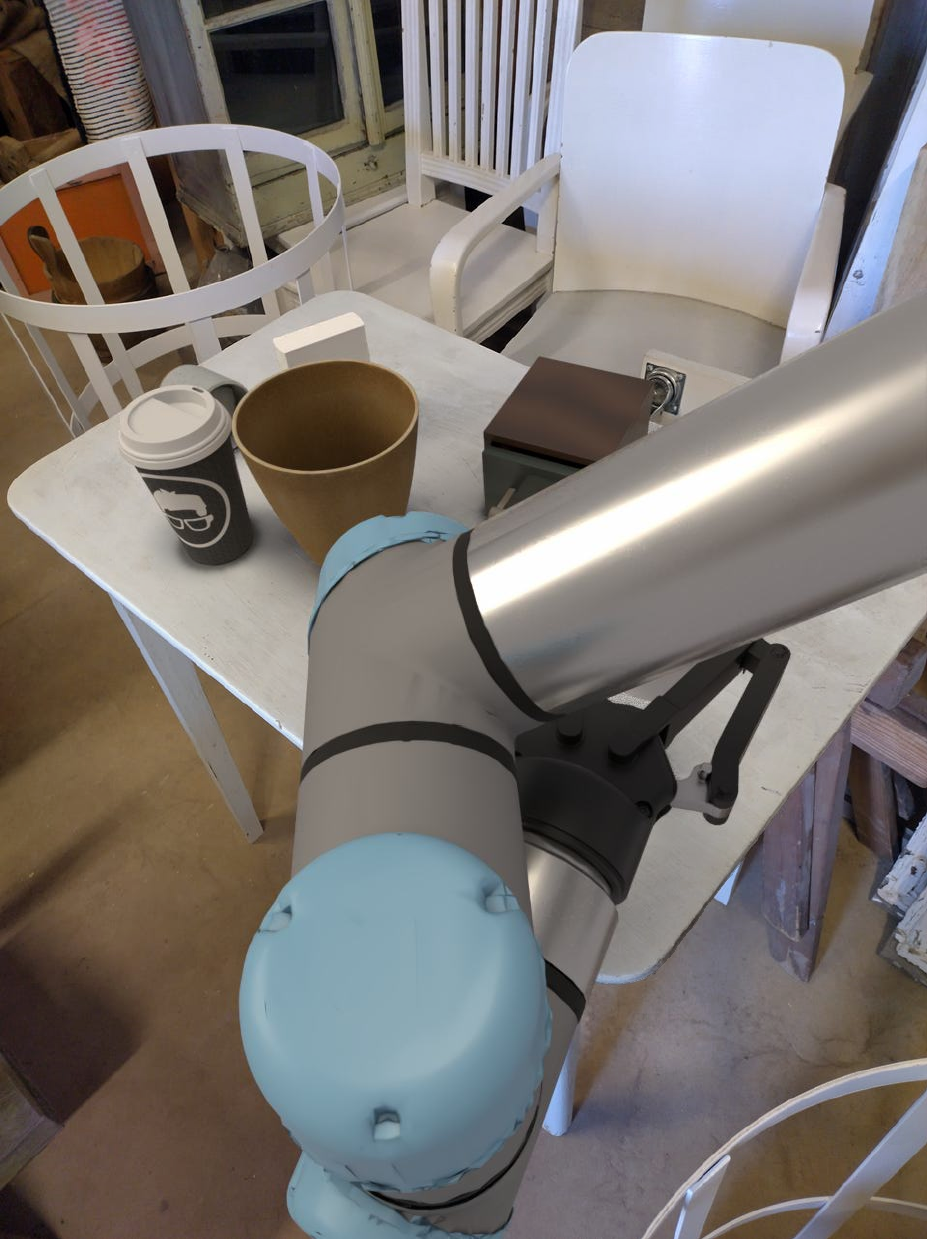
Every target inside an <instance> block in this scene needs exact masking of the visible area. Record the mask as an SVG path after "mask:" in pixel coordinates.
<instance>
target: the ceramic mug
mask: <svg viewBox="0 0 927 1239" xmlns="http://www.w3.org/2000/svg"><path fill="white" fill-rule="evenodd" d="M171 385H192V386H197V387H200V388H202V389H204V390H206V391H208V392H209V393H210V394H211V395H212V396H213V398H215V399H217V400H218V401H219V402H220V403H221V404H222V405H223V406H224V407H225V409H226V410H227V411H228V413H229V414H230V416H231V419H233V415H234V412H235V409H236V407H237V406H238V404H239V402H240V401H241V399H242V398H243V397H244V396H245V395H246V394H247V393H248V392H249V391H250V390H249V389H248V388H247V387H245V385H243V384H242V383H240V382H239V381H237V380H235V379H232V378H229V377H228V376H225V375H223V374H221V373H218V372H217V371H213V370H211V369H209V368H206V367H204V366H202V365H195V364H182V365H179V366H176V367H174V368H172V369H171V370H170V371H168V373H166V374H165V375H164V377H163V379H162V380H161V382H160V384H159V387H158V388H161V387H165V386H171ZM230 438H231V443H232V447H233V450H234V449H237V448H238V446H237V444H236V441H235V439H234V436H233V433H232V428H231V432H230Z"/></svg>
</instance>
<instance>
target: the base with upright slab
mask: <svg viewBox="0 0 927 1239" xmlns="http://www.w3.org/2000/svg"><path fill="white" fill-rule="evenodd" d="M367 339H368V338H367V334H366V327H365V322H364V321H363V319H362V317H361V316H359V315H358V314H356V313H355V312H352V311H349V312H346V313H343V314H341V315H338V316H335V317H332V318H329V319H327V320H324V321H321V322H317V323H315V324H312V325H309V326H306V327H303V328H301V329H298V330H295V331H291V332H289V333H286V334H284V335H280V336H278V337H274V338H273V339H272V342H273V346H274V349H275V354H276V357H277V361H278V365H279V368H280V372H281V371H283V370H285V369H288V368H291V367H294V366H297V365H301V364H306V363H310V362H316V361H322V360H333V359H353V360H361V361H366V362H371V357H370V350H369V346H368V340H367Z"/></svg>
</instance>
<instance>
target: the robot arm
mask: <svg viewBox="0 0 927 1239" xmlns="http://www.w3.org/2000/svg"><path fill="white" fill-rule="evenodd" d="M320 568H321V567H320ZM319 572H320V573H319V577H318V584H317V590H316V595H315V602H314V605H313V608H312V611H311V614H310V618H309V622H308V628H307V656H308V662H307V679H306V694H305V709H304V725H303V738H302V752H301V753H302V754H301V755H302V756H301V768H300V769H301V770H300V778H299V788H298V794H297V805H296V815H295V827H294V838H293V847H292V859H291V860H292V862H291V872H290V880H289V881H288V882H287V883H286V884H285V885H284V886H283V887H282V888H281V890H280V892H279V893H278V895H277V898H276V899H275V901H274V903H273V904H272V906H271V907H270V908H269V910H268V911H267V913H266V914H265V915H264V917H263V919H262V921H261V923H260V926H259V928H258V929H257V931H256V932H255V933H254V934H253V938H252V940H251V943H250V945H249V947H248V949H247V953H246V956H245V959H244V962H243V968H242V973H241V974H242V975H241V980H240V984H239V992H238V1012H239V1014H238V1015H239V1026H240V1027H239V1028H240V1035H241V1040H242V1045H243V1049H244V1050H243V1051H244V1053H245V1057H246V1060H247V1064H248V1066H249V1069H250V1071H251V1074H252V1077H253V1079H254V1081H255V1083H256V1085H257V1086H258V1089H259V1091H260V1092H261V1094H262V1095H263V1097H264V1099H265V1100H266V1102H267V1103H268V1104H269V1105H270V1107H271V1108H272V1109H273V1110H274V1112H276V1114H277V1115H278V1116H279V1117H280V1122H281V1125H282V1126H283V1127H284V1128H286V1130H287V1133H288V1136H289V1137H290V1139H291V1140H292V1141H293V1142H294V1143H295V1145H297V1146H298V1147H299V1148H300V1150H302V1151H301V1154H300V1156H299V1159H298V1161H297V1163H296V1165H295V1168H294V1171H293V1173H292V1175H291V1178H290V1180H289V1182H288V1186H287V1190H286V1208H287V1210H288V1214H289V1216H290V1218H291V1219H292V1220H293V1221H294V1222H295V1224H296V1225H297V1226H298V1227H299V1228H300V1229H301V1230H302V1231H303V1232H304V1233H305V1234H306V1235H308V1236H309V1237H310V1238H312V1239H504V1236H505V1233H506V1232H509V1230H510V1226H511V1222H512V1219H513V1215H514V1213H515V1208H514V1204H515V1201H516V1198H517V1195H518V1193H519V1190H520V1188H521V1185H522V1182H523V1179H524V1176H525V1174H526V1171H527V1169H528V1165H529V1163H530V1160H531V1158H532V1155H533V1152H534V1150H535V1146H536V1143H537V1141H538V1138H539V1136H540V1133H541V1130H542V1127H543V1125H544V1122H545V1119H546V1116H547V1114H548V1111H549V1107H550V1105H551V1102H552V1100H553V1096H554V1093H555V1091H556V1088H557V1084H558V1082H559V1079H560V1076H561V1074H562V1070H563V1068H564V1065H565V1061H566V1058H567V1056H568V1052H569V1049H570V1047H571V1044H572V1041H573V1038H574V1037H575V1036H574V1035H575V1033H576V1029H577V1028H578V1025H579V1024H580V1022H581V1020H582V1017H583V1014H584V1011H585V1009H586V1006H587V1004H588V1003H589V1000H590V997H591V995H592V992H593V990H594V987H595V985H596V983H597V982H596V981H597V979H598V977H599V974H600V971H601V968H602V966H603V963H604V960H605V958H606V955H607V952H608V950H609V947H610V944H611V942H612V938H613V936H614V933H615V931H616V928H617V926H618V923H619V911H618V909H617V907H616V906H617V905H620V904H622V903H623V902H625V901H626V900H627V898H628V895H629V892H630V890H631V887H632V884H633V882H634V879H635V877H636V874H637V871H638V868H639V866H640V863H641V860H642V857H643V855H644V852H645V850H646V847H647V844H648V842H649V839H650V836H651V834H652V830H653V828H654V826H655V825H656V823H658V821H659V820H660V819H661V818H664V817H665V815H667V814H668V813H669V812H670V811H671V810H672V808H675V809H679V810H686V811H691V812H697V813H702V817H703V819H704V820H705V822H707V823H708V824H710V825H713V826H722V825H724V824H726V823H727V821H728V820H729V817H730V815H731V814H732V813H731V812H732V810H733V809H734V805H735V803H736V801H737V798H738V795H739V787H740V786H739V784H740V783H739V782H740V765H741V763H742V760H743V759H744V757H745V755H746V752H747V751H748V749H749V747H750V744H751V742H752V741H753V739H754V736H755V735H756V732H757V730H758V728H759V726H760V724H761V723H762V720H763V718H764V716H765V715H766V712H767V710H768V708H769V706H770V704H771V702H772V700H773V698H774V697H775V694H776V692H777V690H778V688H779V686H780V684H781V681H782V679H783V676H784V674H785V671H786V668H787V666H788V664H789V661H790V659H791V655H792V653H791V649H789V648H788V646H786V645H784V644H782V643H778V642H777V643H776V642H775V643H770V642H768V641H767V640H766V639H764V638H765V637H768V636H771V635H774V634H776V633H779V632H781V631H784V630H786V629H788V628H791V627H793V626H796V625H799V624H801V623H804V622H808V621H809V620H811V619H814V618H817V617H819V616H822V615H824V614H827V613H829V612H832V611H835V610H837V609H840V608H843V607H844V606H847V605H850V604H853V603H855V602H858V601H860V600H862V599H865V598H867V597H870V596H872V595H875V594H878V593H880V592H883V591H885V590H888V589H891V588H893V587H895V586H899V585H900V584H904V583H906V582H909V581H911V580H914V579H916V578H919V577H922V576H924V575H927V286H926V287H924V288H922V289H920V290H918V291H916V292H914V293H913V294H910V295H909V296H908V295H907V297H905V298H903V299H901V300H899V301H897V302H895V303H892V304H891V305H890V306H888V307H886V308H884V309H882V310H880V311H878V312H876V313H875V314H872V315H870V316H869V317H866V318H865V319H863V320H860V321H859V322H857V323H856V324H854V325H852V326H849V327H848V328H846V329H844V330H842V331H840V332H838V333H836V334H835V335H833V336H831V337H829V338H828V339H825V340H824V341H822V342H820V343H818V344H816V345H814V346H812V347H810V348H808V349H806V350H805V351H803V352H801V353H799V354H797V355H795V356H793V357H792V358H789V359H788V360H786V361H784V362H782V363H780V364H778V365H776V366H774V367H772V368H770V369H769V370H766V371H765V372H763V373H760V374H758V375H757V376H756V377H755V376H754V378H752V379H750V380H748V381H745V382H744V383H742V384H740V385H739V386H737V387H734V388H733V389H730V390H729V391H727V392H725V393H723V394H721V395H719V396H718V397H715V398H714V399H712V400H710V401H708V402H706V403H704V404H702V405H700V406H699V407H697V408H695V409H693V410H691V411H689V412H687V413H686V414H684V415H682V416H680V417H678V418H675V419H674V420H672V421H670V422H668V423H667V424H665V425H663V426H661V427H659V428H657V429H655V430H653V431H651V432H648V435H646V436H644V437H642V438H640V439H638V440H636V441H634V442H632V443H631V444H629V445H627V446H625V447H623V448H621V449H619V450H617V451H615V452H614V453H612V454H610V455H608V456H606V457H604V458H602V459H600V460H598V461H597V462H595V463H593V464H591V465H589V466H587V467H585V468H583V469H581V470H580V471H578V472H576V473H574V474H572V475H570V476H568V477H566V478H564V479H563V480H561V481H559V482H557V483H555V484H553V485H551V486H549V487H547V488H545V489H544V490H542V491H540V492H538V493H536V494H534V495H532V496H530V497H528V498H527V499H525V500H523V501H521V502H519V503H517V504H515V505H513V506H511V507H510V508H508V509H506V510H504V511H502V512H500V513H498V514H496V515H494V516H493V517H491V518H489V519H488V518H487V519H485V520H483V521H481V522H480V523H479V522H478V523H477V524H476V526H474V527H472V528H471V529H469V528H468V527H467V526H465V525H464V524H463V523H461V522H460V521H458V520H456V519H453V518H452V517H448V516H446V515H442V514H439V513H434V512H429V511H421V510H420V511H418V510H410V511H407V512H406V514H405V516H394V517H385V516H383V515H379V516H376V517H374V518H371V519H368V520H366V521H363V522H361V523H359V524H358V525H356V526H354V527H353V528H351V529H350V530H348V531H347V532H346V533H345V534H344V535H342V536H341V537H340V538H339V539H338V541H337V542H336V543H335V544H334V545H333V546H332V548H331V549H330V551H329V552H328V554H327V556H326V558H325V561H324V563H323V565H322V568H321V569H320V571H319ZM694 664H696V665H695V666H694V667H693V668H691V669H690V670H689V671H688V672H687V673H686V674H685V675H684V676H683V677H682V678H681V679H680V680H679V681H678V682H677V683H676V684H675V685H673V686H672V687H671V688H670V689H669V690H668V691H667V692H666V693H665V694H664V695H663V696H660V695H659V696H657V697H656V698H655V699H654V700H653V701H650V702H649V703H648V704H647V705H646V706H645V707H644V708H640V707H638V706H634V705H632V704H628V703H627V704H626V703H620V702H619V703H618V702H613V701H612V700H610V698H613V697H615V696H617V695H620V694H622V693H624V692H625V691H628V690H630V689H633V688H636V687H638V686H641V685H643V684H646V683H648V682H651V681H653V680H656V679H659V678H661V677H664V676H666V675H669V674H671V673H674V672H676V671H679V670H681V669H684V668H687V667H689V666H692V665H694ZM746 671H747V672H749V673H750V674H752V675H751V677H750V679H749V681H748V683H747V685H746V686H745V688H744V690H743V692H742V695H741V697H740V698H739V700H738V702H737V704H736V706H735V708H734V709H733V712H732V713H731V716H730V718H729V720H728V721H727V722H726V725H725V727H724V729H723V731H722V733H721V735H720V737H719V739H718V740H717V743H716V745H715V747H714V751H713V754H712V757H711V760H710V762H708V761H707V762H706V761H705V762H703V763H700V764H697V765H695V766H694V767H693V768H692V770H691V773H690V774H689V776H688V777H686V778H684V779H677V778H676V775H675V772H674V770H673V766H672V764H671V762H670V759H669V756H668V753H667V751H666V750H668V748H669V747H670V746H671V744H672V743H673V742H674V739H675V738H676V737H677V736H678V734H680V732H681V731H682V730H684V729H685V728H686V727H687V726H688V725H689V724H690V723H691V722H692V721H693V720H694V719H695V718H696V717H697V716H698V715H699V714H700V713H701V712H702V711H703V710H704V709H705V708H706V707H707V706H708V705H709V704H710V703H711V702H712V701H713V700H714V699H715V698H716V697H717V696H719V694H720V693H721V692H723V691H724V689H725V688H726V687H727V686H728V685H729V684H730V683H731V682H733V680H735V678H737V677H738V676H739V675H740V674H742V675H745V674H746Z"/></svg>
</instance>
